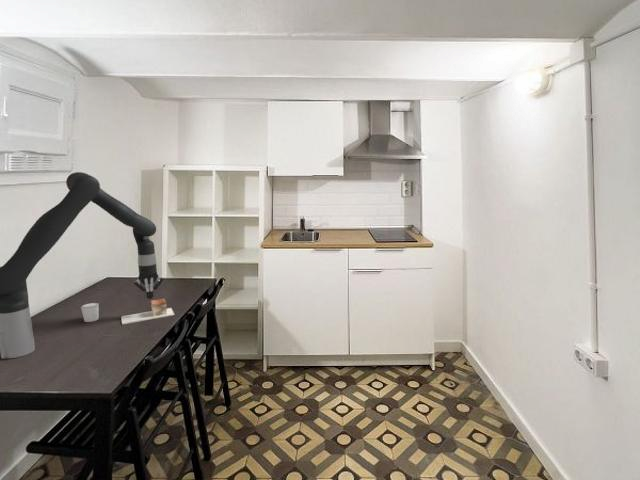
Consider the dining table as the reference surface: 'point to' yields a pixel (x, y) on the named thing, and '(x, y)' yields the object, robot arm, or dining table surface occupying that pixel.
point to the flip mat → (143, 316)
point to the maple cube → (159, 307)
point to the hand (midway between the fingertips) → (150, 298)
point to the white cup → (90, 312)
